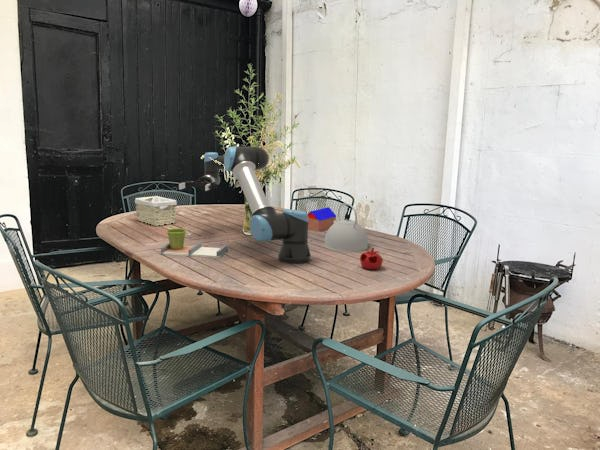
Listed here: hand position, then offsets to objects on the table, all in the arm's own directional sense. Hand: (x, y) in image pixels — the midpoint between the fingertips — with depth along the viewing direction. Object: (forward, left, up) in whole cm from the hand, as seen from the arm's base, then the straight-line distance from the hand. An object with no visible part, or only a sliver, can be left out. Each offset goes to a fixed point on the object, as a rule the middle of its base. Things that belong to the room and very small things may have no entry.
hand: (192, 187), depth 240 cm
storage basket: (+12, -61, -30) cm, 69 cm away
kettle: (-75, +24, -30) cm, 84 cm away
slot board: (+2, +16, -29) cm, 33 cm away
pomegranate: (-67, +63, -30) cm, 97 cm away
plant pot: (+10, +10, -28) cm, 32 cm away
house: (-80, -21, -30) cm, 88 cm away
